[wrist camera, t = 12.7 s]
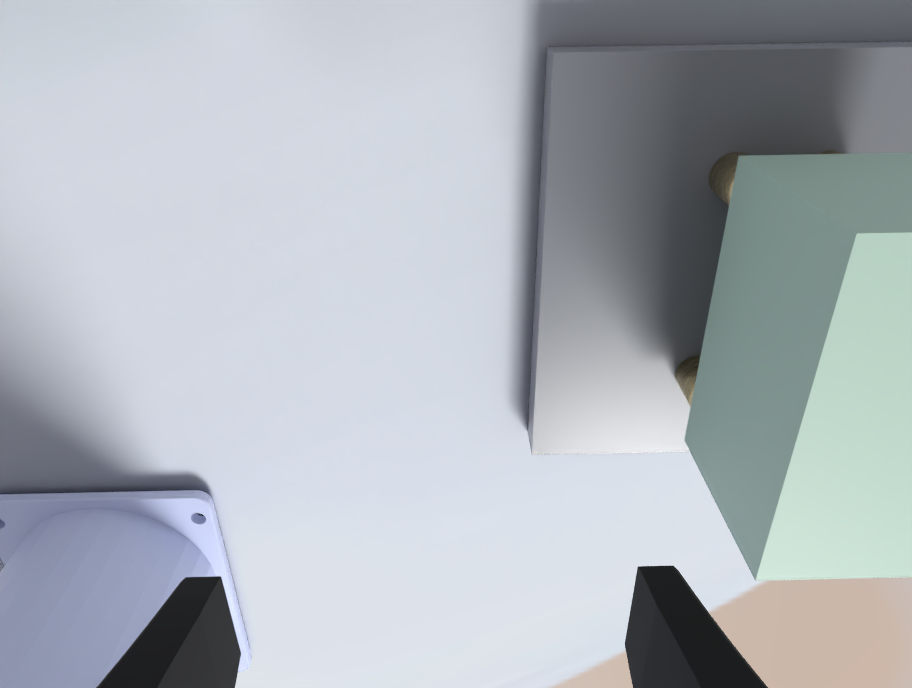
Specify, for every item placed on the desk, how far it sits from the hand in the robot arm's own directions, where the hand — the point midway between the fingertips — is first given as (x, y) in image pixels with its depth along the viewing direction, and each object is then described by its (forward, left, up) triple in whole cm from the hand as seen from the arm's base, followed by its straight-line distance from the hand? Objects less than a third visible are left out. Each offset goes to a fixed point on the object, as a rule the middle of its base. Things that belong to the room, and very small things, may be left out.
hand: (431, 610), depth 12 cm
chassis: (+2, -9, -10) cm, 14 cm away
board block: (+2, -9, -7) cm, 12 cm away
